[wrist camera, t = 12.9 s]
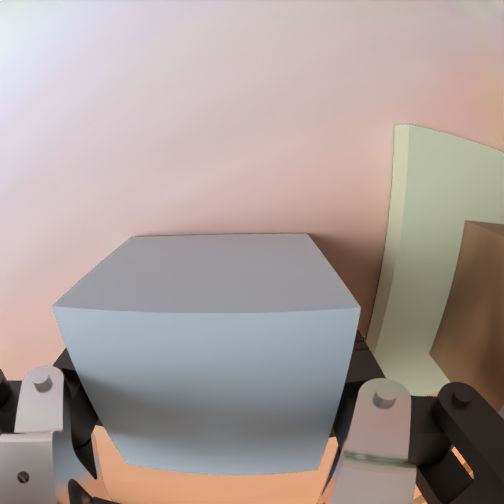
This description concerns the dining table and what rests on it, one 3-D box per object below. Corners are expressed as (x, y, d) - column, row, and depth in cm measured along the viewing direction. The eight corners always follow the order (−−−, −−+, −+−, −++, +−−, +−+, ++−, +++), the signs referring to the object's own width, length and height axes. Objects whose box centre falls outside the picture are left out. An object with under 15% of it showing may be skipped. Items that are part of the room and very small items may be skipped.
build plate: (394, 125, 9) (408, 124, 8) (551, 175, 9) (563, 179, 8) (349, 396, 12) (354, 410, 11) (502, 358, 13) (510, 366, 12)
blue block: (131, 236, 10) (52, 306, 5) (307, 233, 10) (360, 307, 5) (157, 370, 11) (127, 464, 7) (296, 371, 12) (317, 469, 7)
